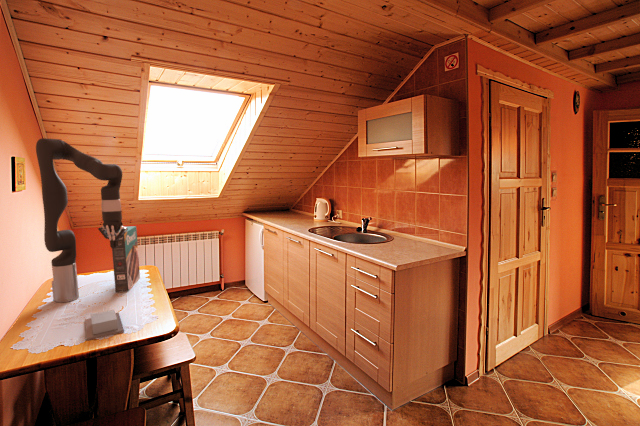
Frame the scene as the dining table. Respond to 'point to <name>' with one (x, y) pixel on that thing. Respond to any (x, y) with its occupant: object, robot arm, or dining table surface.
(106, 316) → the slab
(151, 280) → the dining table surface
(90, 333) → the slate board
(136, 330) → the dining table surface
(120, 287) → the cake mix box
